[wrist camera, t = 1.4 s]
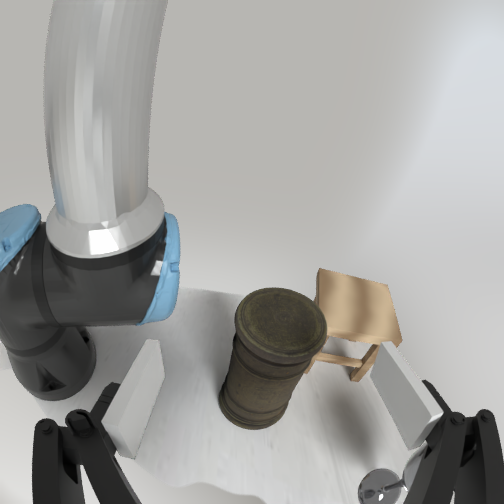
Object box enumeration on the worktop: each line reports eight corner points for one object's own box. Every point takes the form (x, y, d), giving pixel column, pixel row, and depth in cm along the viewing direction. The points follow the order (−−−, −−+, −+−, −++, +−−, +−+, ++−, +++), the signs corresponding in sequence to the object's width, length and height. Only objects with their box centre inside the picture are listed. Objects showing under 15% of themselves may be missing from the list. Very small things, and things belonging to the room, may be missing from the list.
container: (296, 410, 32) (351, 330, 23) (242, 442, 28) (274, 377, 18) (259, 366, 38) (290, 274, 28) (206, 390, 33) (213, 299, 23)
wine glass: (393, 518, 17) (477, 493, 9) (346, 508, 19) (423, 488, 11) (409, 472, 23) (484, 430, 15) (366, 460, 26) (437, 416, 17)
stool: (292, 375, 37) (318, 324, 31) (299, 320, 47) (319, 268, 41) (363, 386, 36) (402, 340, 30) (359, 333, 46) (387, 284, 40)
